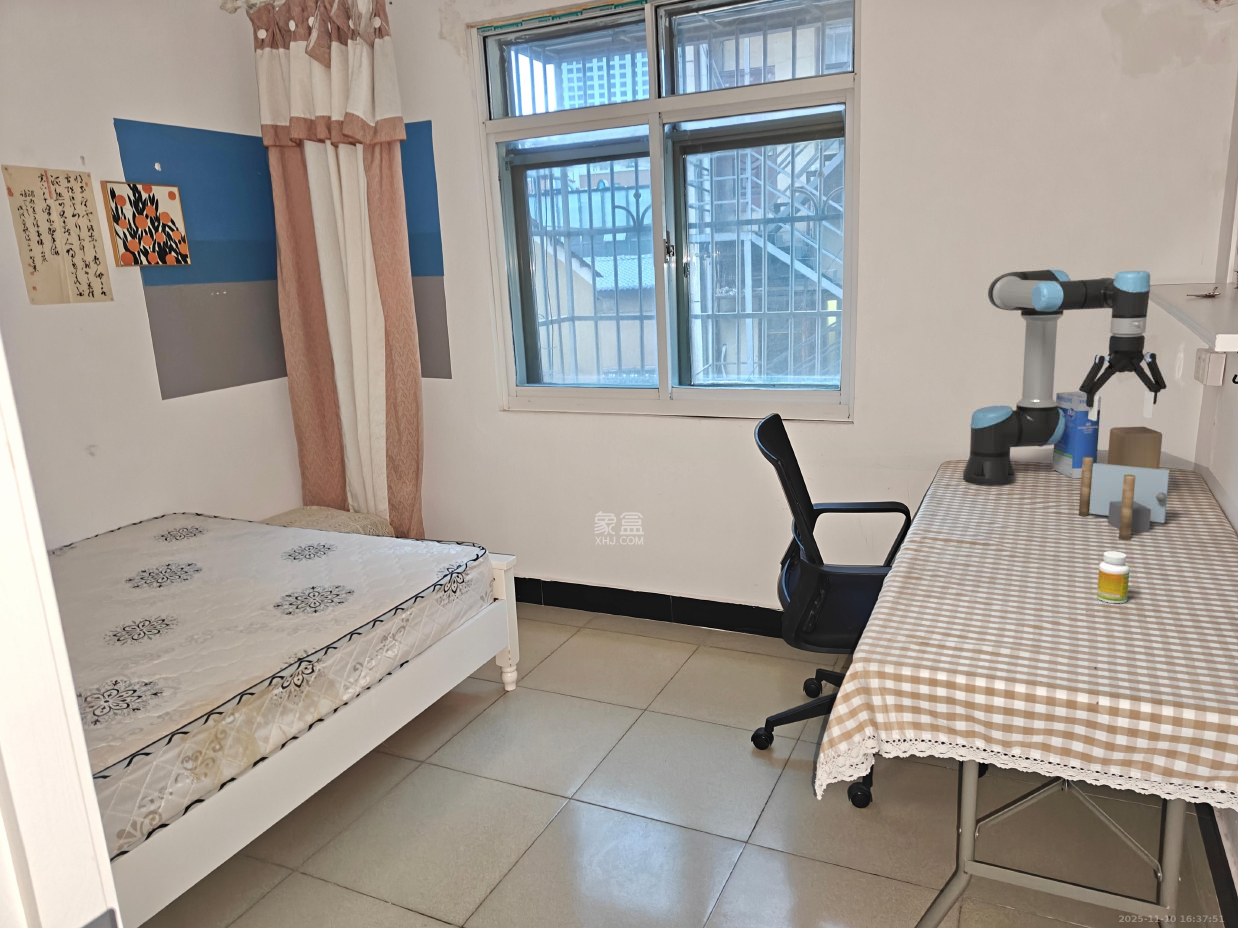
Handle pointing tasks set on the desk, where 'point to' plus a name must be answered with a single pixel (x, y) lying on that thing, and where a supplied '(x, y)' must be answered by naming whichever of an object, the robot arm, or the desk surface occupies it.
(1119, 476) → the door
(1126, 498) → the door frame
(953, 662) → the desk surface
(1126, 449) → the wooden block
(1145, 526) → the block
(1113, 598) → the supplement bottle
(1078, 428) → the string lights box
